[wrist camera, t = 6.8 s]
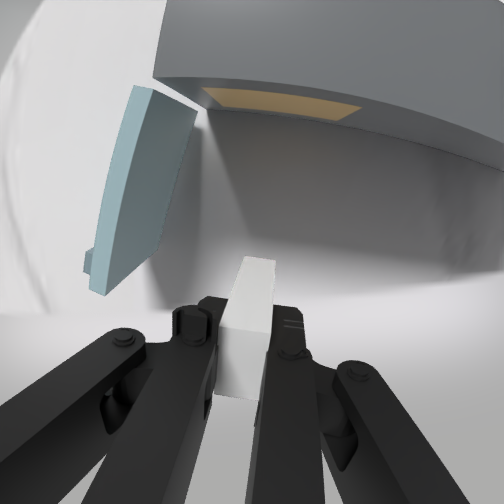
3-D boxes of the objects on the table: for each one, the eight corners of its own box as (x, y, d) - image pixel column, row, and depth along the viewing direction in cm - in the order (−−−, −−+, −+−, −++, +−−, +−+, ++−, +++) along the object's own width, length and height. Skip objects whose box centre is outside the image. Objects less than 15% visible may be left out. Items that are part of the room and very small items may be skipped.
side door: (170, 104, 19) (114, 81, 11) (198, 111, 19) (153, 89, 12) (133, 240, 22) (73, 282, 15) (157, 249, 22) (104, 296, 15)
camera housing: (508, 83, 17) (609, 69, 5) (503, 171, 19) (612, 197, 8) (221, 9, 18) (174, -93, 6) (206, 109, 20) (129, 65, 8)
